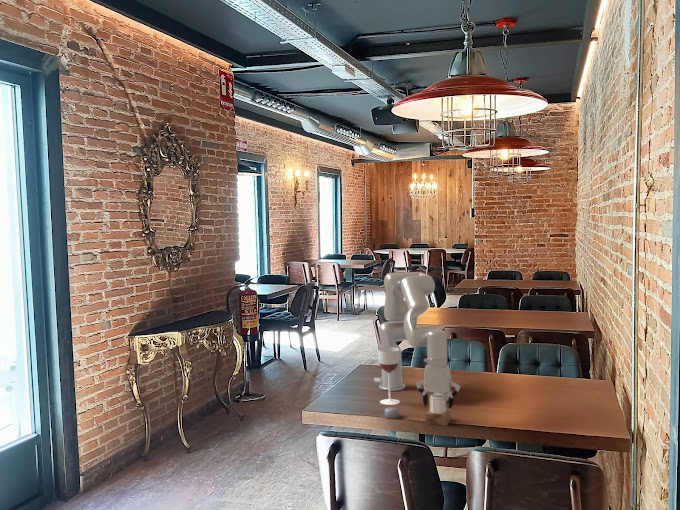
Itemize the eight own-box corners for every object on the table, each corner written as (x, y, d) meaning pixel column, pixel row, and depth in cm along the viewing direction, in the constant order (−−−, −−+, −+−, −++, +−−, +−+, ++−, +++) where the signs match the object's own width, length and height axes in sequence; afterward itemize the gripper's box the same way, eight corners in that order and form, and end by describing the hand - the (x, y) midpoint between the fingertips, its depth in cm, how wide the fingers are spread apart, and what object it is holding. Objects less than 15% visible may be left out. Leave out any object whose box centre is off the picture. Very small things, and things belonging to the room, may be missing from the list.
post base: (425, 423, 220) (425, 401, 220) (430, 417, 228) (430, 396, 227) (446, 425, 217) (446, 403, 217) (451, 419, 224) (450, 397, 224)
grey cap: (389, 419, 226) (389, 411, 226) (382, 415, 231) (382, 408, 231) (401, 417, 228) (401, 410, 228) (394, 414, 233) (394, 406, 234)
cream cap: (428, 412, 221) (428, 397, 220) (432, 408, 226) (432, 393, 226) (444, 414, 218) (444, 398, 218) (447, 409, 224) (447, 394, 224)
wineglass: (402, 399, 253) (401, 347, 252) (397, 405, 244) (396, 352, 243) (382, 397, 256) (381, 346, 255) (376, 404, 247) (375, 351, 246)
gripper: (412, 363, 221) (414, 406, 222) (457, 365, 215) (458, 411, 215) (418, 358, 228) (419, 401, 229) (461, 361, 222) (462, 405, 222)
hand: (438, 406), depth 222 cm, fingers open, 9 cm apart
